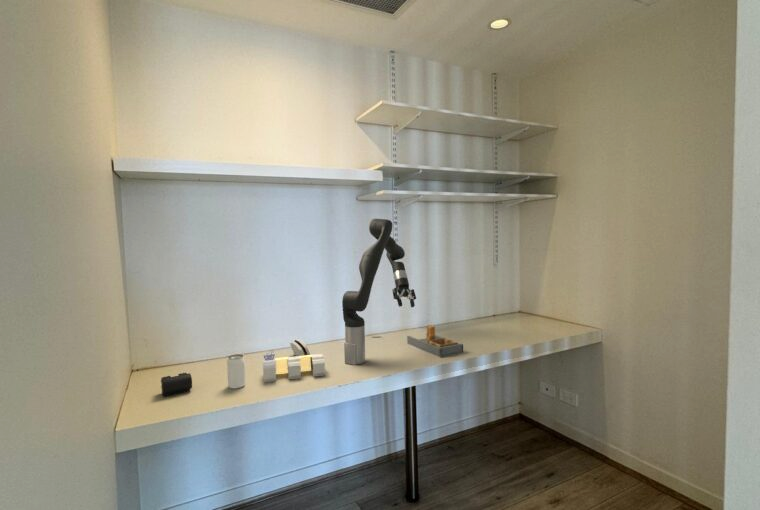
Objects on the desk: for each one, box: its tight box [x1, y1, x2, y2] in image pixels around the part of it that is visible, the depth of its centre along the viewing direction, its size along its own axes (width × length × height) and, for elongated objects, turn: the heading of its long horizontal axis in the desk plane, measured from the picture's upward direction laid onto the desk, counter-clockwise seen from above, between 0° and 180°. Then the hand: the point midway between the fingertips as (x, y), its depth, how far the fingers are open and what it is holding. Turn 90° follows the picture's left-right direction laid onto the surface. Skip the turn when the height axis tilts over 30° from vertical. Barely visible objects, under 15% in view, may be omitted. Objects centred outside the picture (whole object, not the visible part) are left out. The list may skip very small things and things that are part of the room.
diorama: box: [262, 349, 326, 383], centre depth 167 cm, size 25×10×13 cm, turn 105°
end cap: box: [160, 372, 193, 397], centre depth 151 cm, size 10×7×7 cm
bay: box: [406, 334, 464, 358], centre depth 204 cm, size 30×14×4 cm, turn 28°
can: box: [226, 354, 246, 390], centre depth 156 cm, size 6×6×12 cm
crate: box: [426, 325, 458, 348], centre depth 200 cm, size 17×10×10 cm, turn 28°
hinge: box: [289, 339, 311, 356], centre depth 192 cm, size 17×5×10 cm, turn 31°
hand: (406, 306), depth 214 cm, fingers open, 8 cm apart
